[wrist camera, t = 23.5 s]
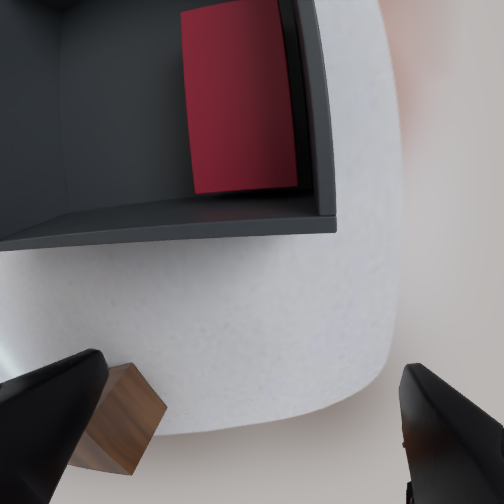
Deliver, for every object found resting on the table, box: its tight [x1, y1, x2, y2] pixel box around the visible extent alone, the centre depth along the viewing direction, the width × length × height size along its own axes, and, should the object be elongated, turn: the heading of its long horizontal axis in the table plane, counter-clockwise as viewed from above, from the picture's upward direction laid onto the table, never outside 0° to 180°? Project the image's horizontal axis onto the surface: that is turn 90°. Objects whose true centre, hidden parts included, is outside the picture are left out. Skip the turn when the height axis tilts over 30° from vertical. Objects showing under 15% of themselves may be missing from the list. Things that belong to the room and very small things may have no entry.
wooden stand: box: [68, 363, 167, 475], centre depth 23 cm, size 11×6×9 cm, turn 117°
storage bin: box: [0, 0, 337, 252], centre depth 13 cm, size 19×19×9 cm
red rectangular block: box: [181, 0, 299, 194], centre depth 15 cm, size 10×5×4 cm, turn 5°
